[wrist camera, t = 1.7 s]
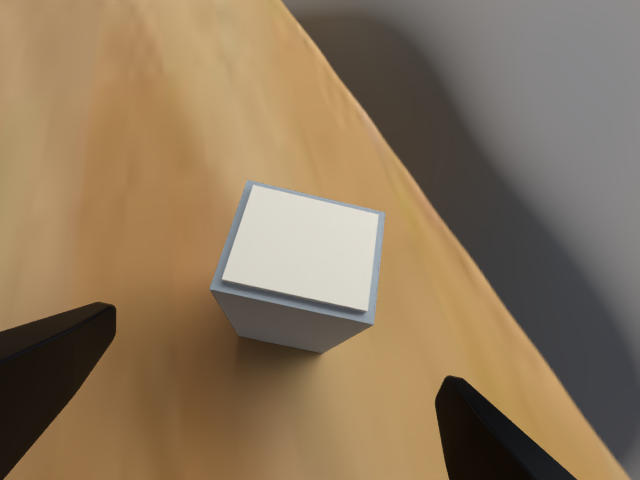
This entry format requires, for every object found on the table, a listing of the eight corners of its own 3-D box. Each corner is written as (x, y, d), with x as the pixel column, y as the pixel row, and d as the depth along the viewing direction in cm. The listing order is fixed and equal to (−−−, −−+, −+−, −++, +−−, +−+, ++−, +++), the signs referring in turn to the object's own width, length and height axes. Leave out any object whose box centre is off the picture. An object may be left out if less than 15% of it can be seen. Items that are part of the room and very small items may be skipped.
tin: (322, 353, 18) (376, 323, 9) (238, 336, 18) (208, 286, 9) (333, 288, 20) (387, 208, 11) (256, 271, 20) (247, 175, 11)
